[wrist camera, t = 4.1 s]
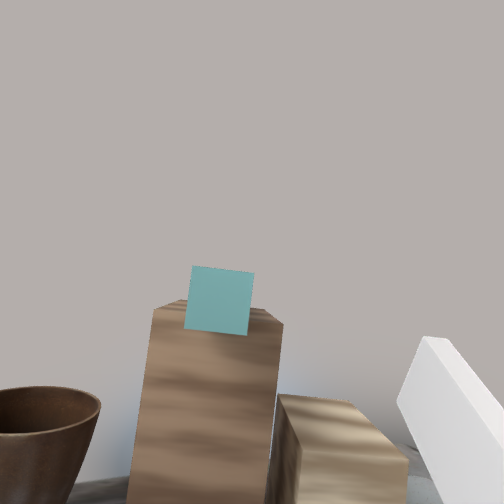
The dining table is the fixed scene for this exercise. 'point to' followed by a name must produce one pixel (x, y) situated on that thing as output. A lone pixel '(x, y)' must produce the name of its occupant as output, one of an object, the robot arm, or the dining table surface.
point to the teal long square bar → (219, 300)
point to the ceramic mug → (422, 491)
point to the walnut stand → (205, 412)
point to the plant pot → (43, 442)
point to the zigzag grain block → (332, 456)
